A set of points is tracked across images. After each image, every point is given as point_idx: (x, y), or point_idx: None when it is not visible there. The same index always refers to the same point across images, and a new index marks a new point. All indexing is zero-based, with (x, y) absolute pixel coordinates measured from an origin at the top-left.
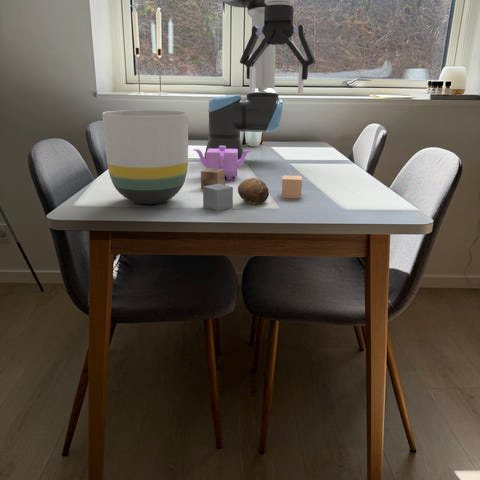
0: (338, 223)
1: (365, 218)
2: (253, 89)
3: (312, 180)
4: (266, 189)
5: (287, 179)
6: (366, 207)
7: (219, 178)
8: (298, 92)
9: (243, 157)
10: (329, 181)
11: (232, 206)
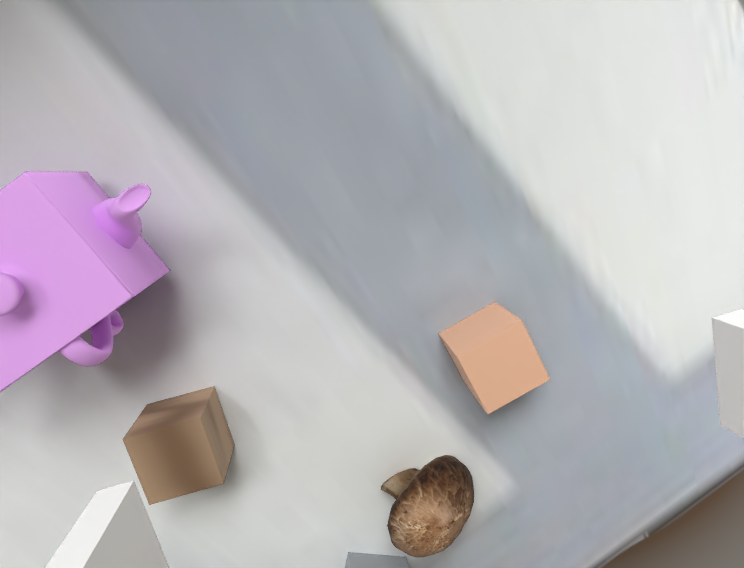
0: (688, 498)
1: None
2: (147, 563)
3: (433, 49)
4: (472, 493)
5: (503, 405)
6: None
7: (222, 450)
8: (733, 426)
9: (134, 225)
10: (502, 20)
11: (405, 558)
